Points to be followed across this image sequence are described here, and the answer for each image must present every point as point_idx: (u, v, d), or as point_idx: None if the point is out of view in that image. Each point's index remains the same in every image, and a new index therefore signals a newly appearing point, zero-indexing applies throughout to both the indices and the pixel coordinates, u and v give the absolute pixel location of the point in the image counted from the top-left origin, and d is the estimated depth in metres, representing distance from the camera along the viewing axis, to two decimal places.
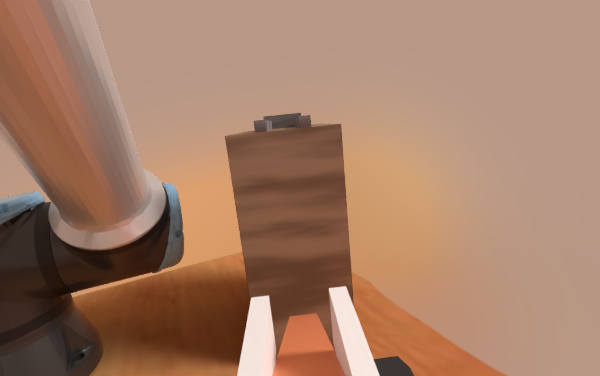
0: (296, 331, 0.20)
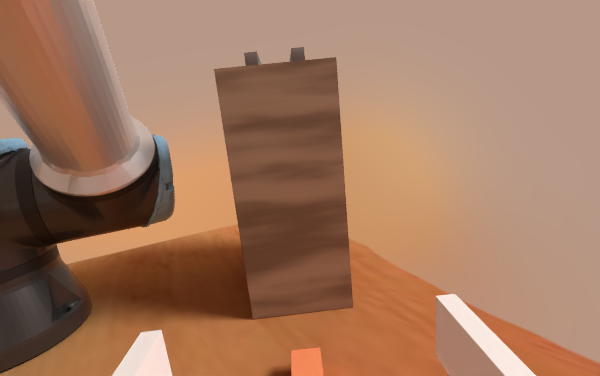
0: None
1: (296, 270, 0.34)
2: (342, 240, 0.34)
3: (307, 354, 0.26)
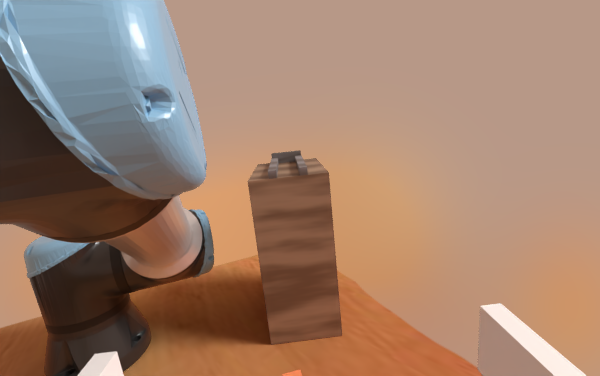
0: None
1: (302, 310, 0.49)
2: (334, 290, 0.49)
3: (292, 375, 0.41)
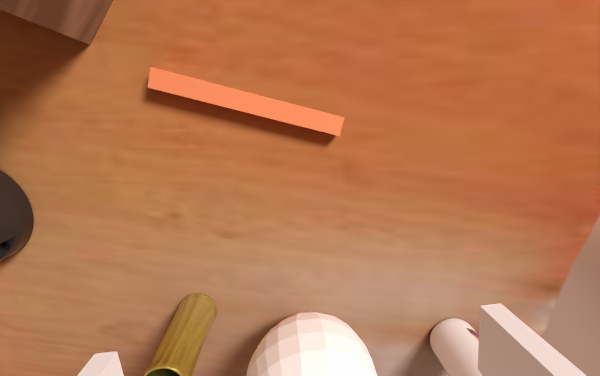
0: (220, 99, 0.40)
1: None
2: None
3: (154, 77, 0.39)
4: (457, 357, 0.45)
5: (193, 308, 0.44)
